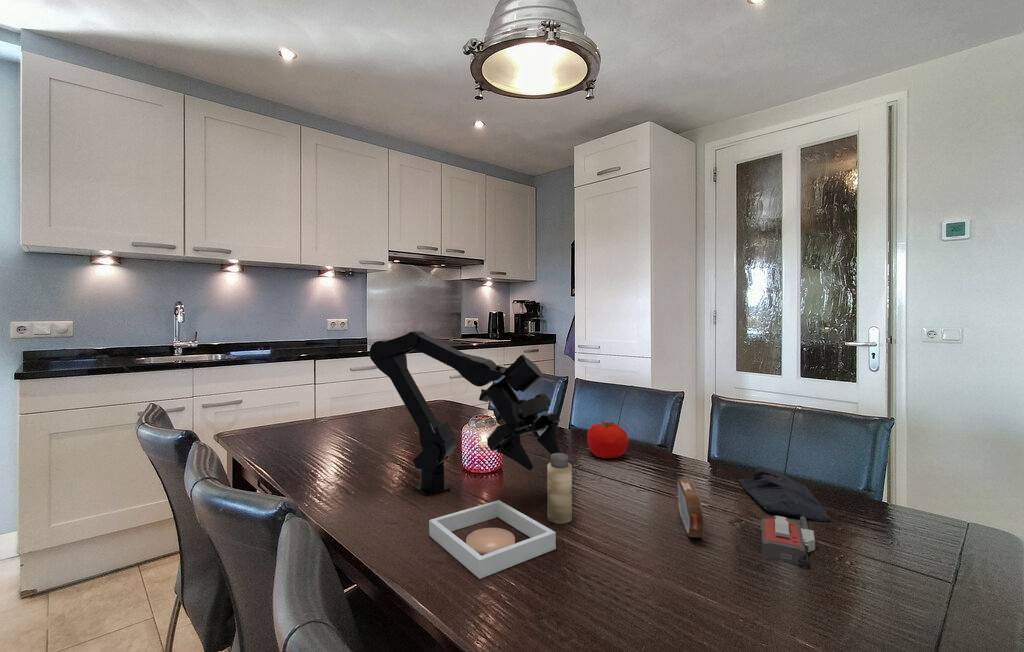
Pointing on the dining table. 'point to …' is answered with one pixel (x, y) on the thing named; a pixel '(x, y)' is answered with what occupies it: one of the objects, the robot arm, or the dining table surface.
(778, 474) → the dark folded cloth
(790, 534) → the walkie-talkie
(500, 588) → the dining table surface
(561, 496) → the pepper mill
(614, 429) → the tomato
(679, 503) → the tin
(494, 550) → the white square frame
